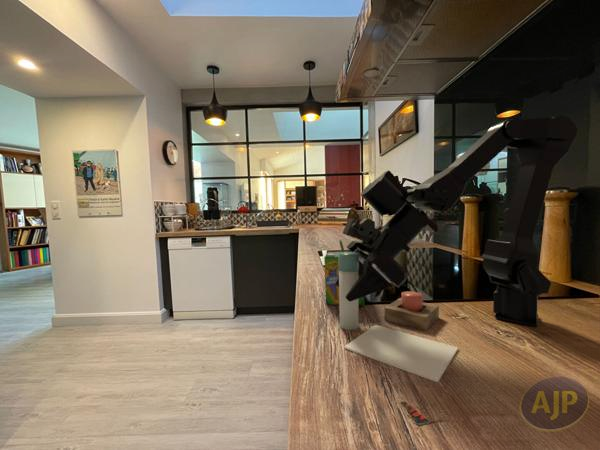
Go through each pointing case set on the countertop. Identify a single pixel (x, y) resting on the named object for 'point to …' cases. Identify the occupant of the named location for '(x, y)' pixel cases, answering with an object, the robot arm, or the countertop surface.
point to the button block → (412, 315)
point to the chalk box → (334, 278)
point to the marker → (348, 289)
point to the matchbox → (414, 414)
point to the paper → (404, 351)
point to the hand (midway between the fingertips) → (341, 291)
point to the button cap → (412, 301)
